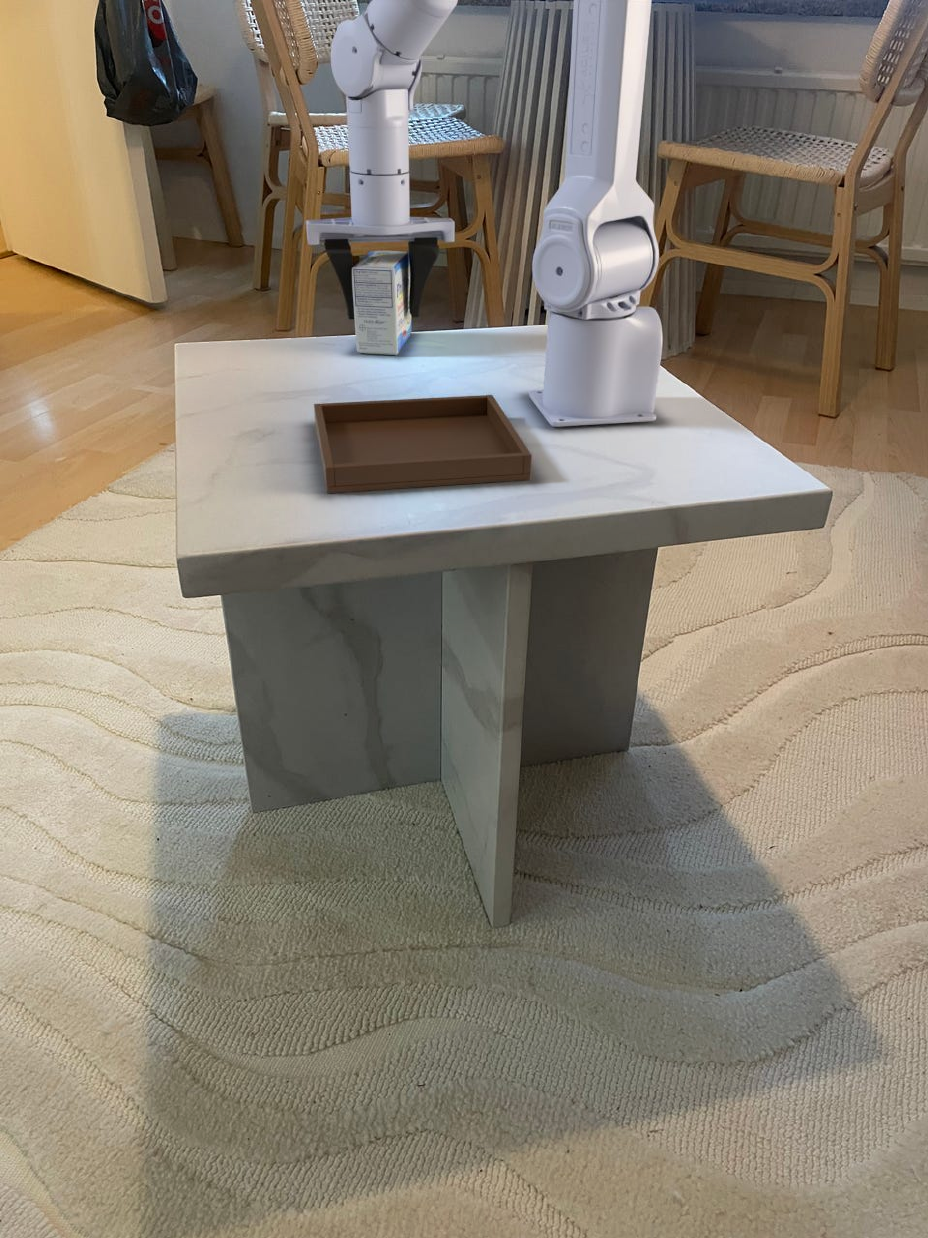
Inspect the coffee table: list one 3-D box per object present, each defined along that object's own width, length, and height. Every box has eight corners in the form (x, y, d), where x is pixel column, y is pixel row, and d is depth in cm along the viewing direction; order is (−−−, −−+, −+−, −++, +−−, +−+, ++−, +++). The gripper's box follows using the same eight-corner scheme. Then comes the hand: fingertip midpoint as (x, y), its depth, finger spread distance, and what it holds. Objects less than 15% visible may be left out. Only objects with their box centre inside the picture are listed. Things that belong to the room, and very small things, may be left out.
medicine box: (398, 356, 93) (395, 267, 88) (355, 353, 94) (350, 265, 89) (412, 334, 100) (410, 250, 95) (372, 332, 100) (368, 248, 95)
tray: (491, 416, 79) (492, 394, 78) (530, 479, 69) (532, 455, 68) (315, 426, 77) (313, 403, 76) (327, 493, 66) (325, 468, 65)
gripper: (446, 165, 92) (445, 303, 100) (300, 166, 90) (310, 307, 97) (459, 175, 86) (457, 321, 94) (304, 176, 84) (315, 326, 91)
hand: (383, 315), depth 95 cm, fingers closed on medicine box, 6 cm apart
